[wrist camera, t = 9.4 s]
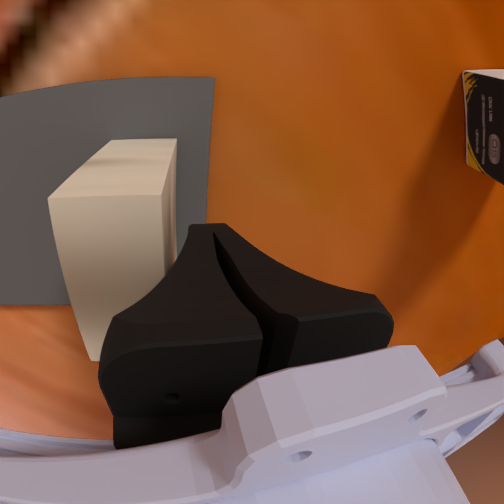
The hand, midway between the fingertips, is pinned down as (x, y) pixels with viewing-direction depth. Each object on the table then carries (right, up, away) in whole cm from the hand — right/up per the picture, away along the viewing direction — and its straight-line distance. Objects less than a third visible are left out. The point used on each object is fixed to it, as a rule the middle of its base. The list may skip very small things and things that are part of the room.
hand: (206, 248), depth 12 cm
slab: (-3, +2, +3) cm, 5 cm away
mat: (-7, +2, +2) cm, 8 cm away
